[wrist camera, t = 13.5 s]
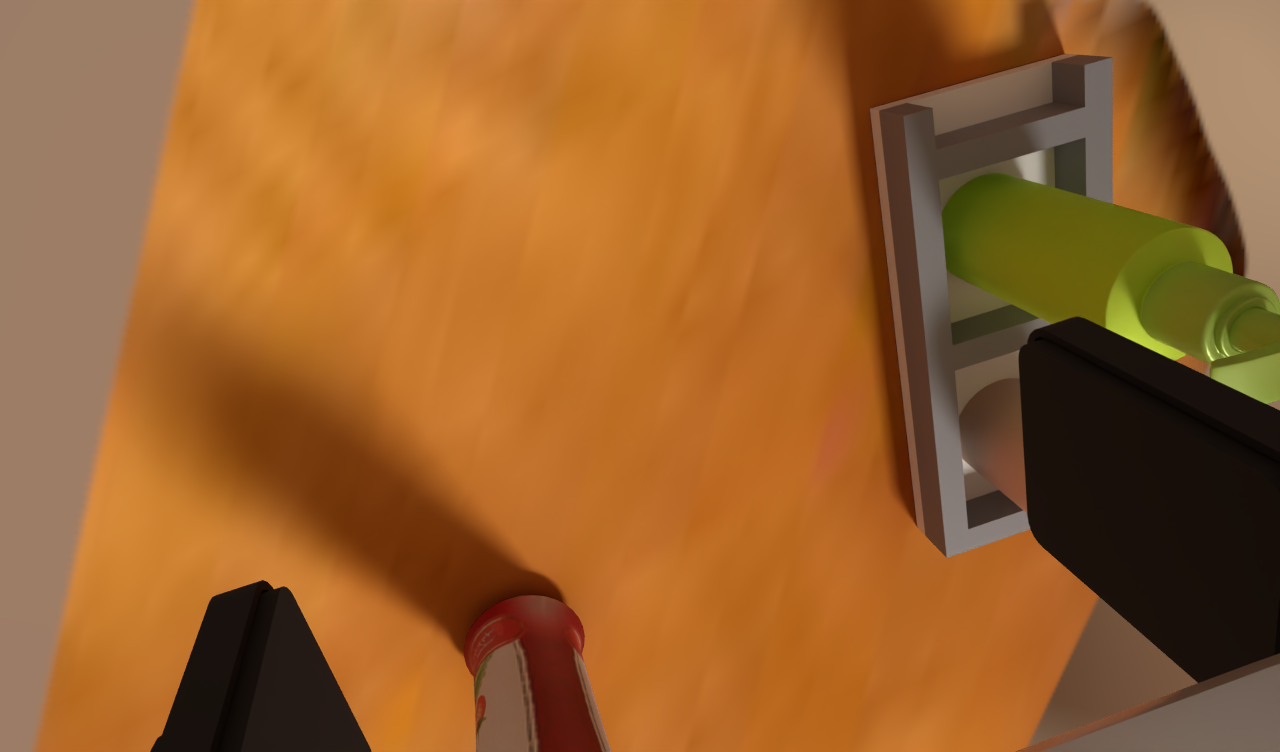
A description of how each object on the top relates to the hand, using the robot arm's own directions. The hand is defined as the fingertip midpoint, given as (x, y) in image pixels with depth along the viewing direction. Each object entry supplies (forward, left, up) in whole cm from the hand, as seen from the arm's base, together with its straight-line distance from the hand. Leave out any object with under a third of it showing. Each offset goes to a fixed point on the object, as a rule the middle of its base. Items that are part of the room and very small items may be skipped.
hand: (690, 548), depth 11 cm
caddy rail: (+16, +24, -34) cm, 45 cm away
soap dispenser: (+11, +24, -33) cm, 42 cm away
